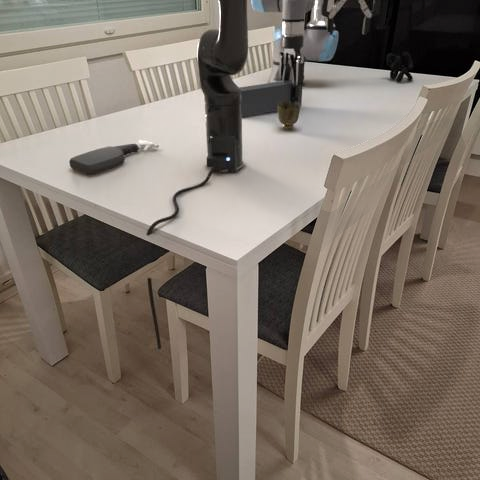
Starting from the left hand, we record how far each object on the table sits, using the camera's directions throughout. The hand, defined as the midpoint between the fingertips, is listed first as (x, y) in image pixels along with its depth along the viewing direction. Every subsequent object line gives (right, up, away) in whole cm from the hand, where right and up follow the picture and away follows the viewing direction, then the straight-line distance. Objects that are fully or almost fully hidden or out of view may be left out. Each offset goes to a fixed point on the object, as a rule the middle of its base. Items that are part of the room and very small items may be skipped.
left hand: (347, 34), depth 115 cm
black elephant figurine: (+44, +19, +86) cm, 99 cm away
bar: (-17, -6, +47) cm, 50 cm away
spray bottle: (-62, -30, +10) cm, 70 cm away
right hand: (-9, -2, +50) cm, 51 cm away
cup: (-12, -17, +30) cm, 37 cm away
